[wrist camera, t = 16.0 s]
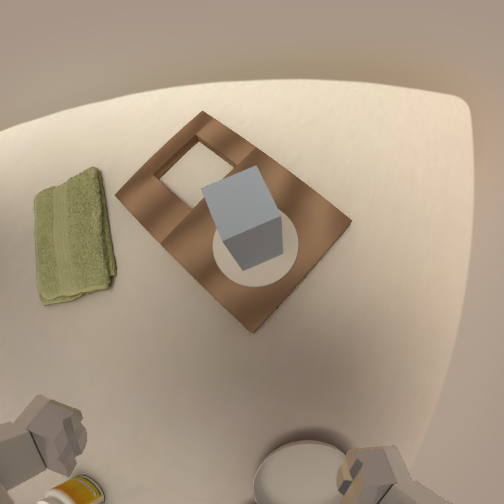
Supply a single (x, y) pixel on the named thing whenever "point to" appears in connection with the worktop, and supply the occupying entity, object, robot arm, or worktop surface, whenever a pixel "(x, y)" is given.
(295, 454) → the saucepan
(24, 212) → the worktop surface
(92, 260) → the washcloth
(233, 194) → the slate block
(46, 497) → the supplement bottle
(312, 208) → the walnut board
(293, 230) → the felt coaster
